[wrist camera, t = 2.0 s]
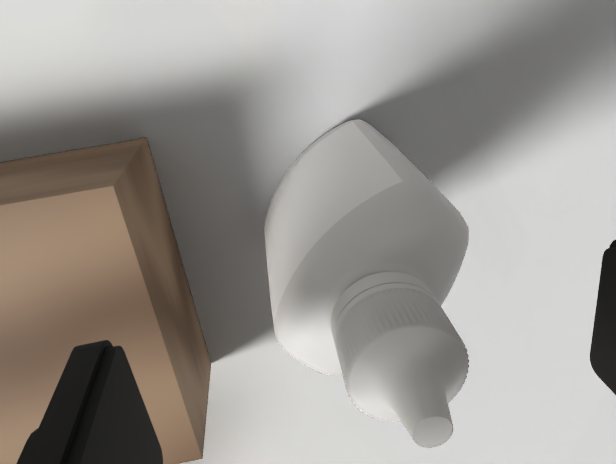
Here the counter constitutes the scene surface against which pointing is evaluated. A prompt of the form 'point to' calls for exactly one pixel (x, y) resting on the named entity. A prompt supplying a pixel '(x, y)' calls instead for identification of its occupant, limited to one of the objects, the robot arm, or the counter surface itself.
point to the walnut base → (96, 290)
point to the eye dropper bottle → (369, 278)
